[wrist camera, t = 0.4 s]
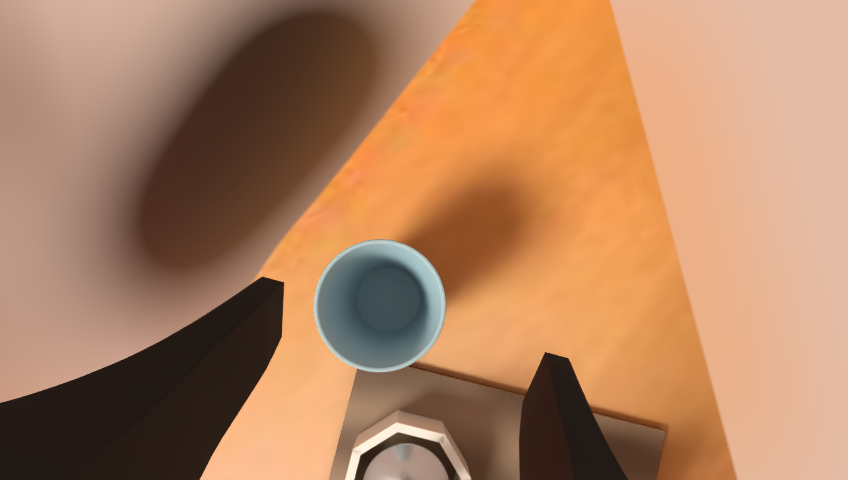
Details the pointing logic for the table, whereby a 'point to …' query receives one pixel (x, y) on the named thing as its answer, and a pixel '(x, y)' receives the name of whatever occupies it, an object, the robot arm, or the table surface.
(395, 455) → the plunger
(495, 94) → the table surface
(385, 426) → the housing
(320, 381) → the table surface
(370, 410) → the board
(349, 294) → the cup
